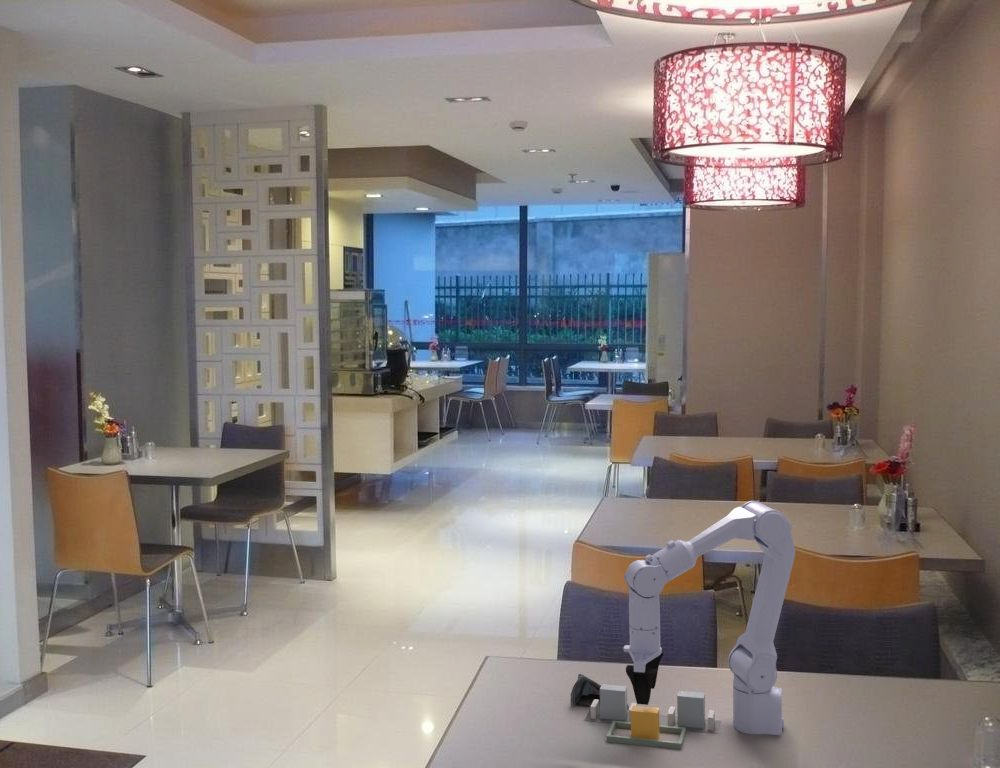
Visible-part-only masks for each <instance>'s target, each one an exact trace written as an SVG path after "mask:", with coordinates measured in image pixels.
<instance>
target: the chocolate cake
mask: <svg viewBox="0 0 1000 768" xmlns="http://www.w3.org/2000/svg"><path fill="white" fill-rule="evenodd" d="M601 686H602V684H601V685H600V684H599V683H597V682H596V681H594V680H593V679H591V678H589V677H587V676H586V675H584V674H581V673H578V674H577V680H576V681H575V683H574V685H573V686H572V688H571V693H570V707H574V706H577V707H583V708H591V705H589V704H583V703H582V704H581V703H579V701H580V699H581V697H582V696H589V695H596V696H597V697H599V698H600V687H601ZM629 708H630V706H629V704H628V702H627V710H628V711H629Z"/></svg>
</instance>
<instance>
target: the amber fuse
mask: <svg viewBox="0 0 1000 768" xmlns="http://www.w3.org/2000/svg"><path fill="white" fill-rule="evenodd" d="M659 715H660V707H654V706H647V705H644V706H643V705H637V706H635V705H633V707H632V709H631V729H630V737H635V738H645V739H655V740H660V734H661V732H660V721H659Z"/></svg>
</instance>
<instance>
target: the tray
mask: <svg viewBox="0 0 1000 768" xmlns="http://www.w3.org/2000/svg"><path fill="white" fill-rule="evenodd" d="M616 728H617V729H618V728H619V729H629V730H631V722H622V721H613V722H612V723H610V726H609V730H608V731H607V733H606V736H605V737H606V739H605V740H606V741H605V742H609V743H610V742H611V743H620V744H627V745H636V746H637V745H639V746H649V747H658V748H667V749H676V750H677V749H678V750H682V748H683V745H684V742H685V737H686V736H687V735H686V734H687V731H686V728H683V727H673V726H663V725H660V733H667V734H668V733H669V734H678V735H679V734H680V735H679V736H680V737H679V739H678V741H673V740H663V739H658V740H655V739H645V738H635V737H631V736H622V735H616V734H615V735H614V732H615V730H616Z"/></svg>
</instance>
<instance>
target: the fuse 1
mask: <svg viewBox="0 0 1000 768" xmlns="http://www.w3.org/2000/svg"><path fill="white" fill-rule="evenodd" d="M627 703H628V686H627V685H617V684H606V683H605V684H604V683H602V684H601V687H600V695H599V709H600V718H602V719H612V720H622V721H625V720H626V718H627V716H628V712H629V710H627Z"/></svg>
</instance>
